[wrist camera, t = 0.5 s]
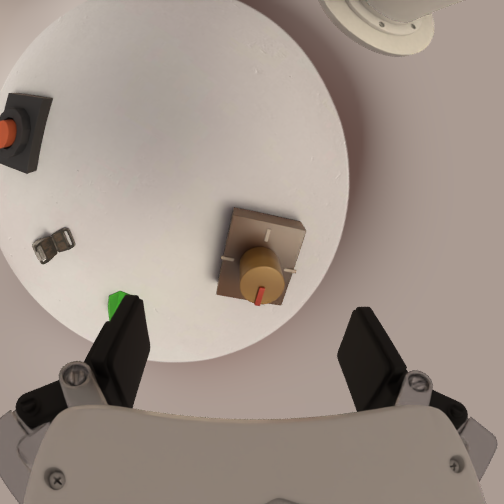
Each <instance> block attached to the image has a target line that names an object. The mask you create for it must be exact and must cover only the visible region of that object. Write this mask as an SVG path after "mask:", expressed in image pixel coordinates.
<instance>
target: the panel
mask: <svg viewBox="0 0 504 504" xmlns="http://www.w3.org/2000/svg"><path fill="white" fill-rule="evenodd" d="M305 233H306V229H305V228H304V226H303V225H302V223H301V222H300V221H296V220H291V219H287V218H282V217H278V216H273V215H269V214H264V213H260V212H255V211H250V210H246V209H241V208H236V207H234V208H233V213H232V217H231V222H230V227H229V231H228V236H227V241H226V245H225V250H224V255H223V256H221V259H223V260H222V264H221V269H220V274H219V279H218V286H217V295H222V296H227V297H233V298H239V299H244V300H247V299H245V298H244V296H243V295H242V294H241V291H240V260H241V257H242V256H243V254H244V253H245V252H246V251H248V250H250V249H252V248H255V247H265V248H268V249H270V250H272V251H273V252H274V253H275V254H276V255H277V257H278V259H279V263H280V267H281V270H282V274H283V278H284V282H285V286H284V290H283V292H282V294H281V295H280V297H278V298H277V299H276V300H275V301H273V302H271V303H269V304H275V305H281V304H282V302H283V299H284V296H285V293H286V290H287V287H288V284H289V282H290V279H291V276H292V273H296V270H294V267H295V264H296V261H297V258H298V255H299V252H300V249H301V246H302V243H303V240H304V236H305Z"/></svg>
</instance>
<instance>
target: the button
mask: <svg viewBox="0 0 504 504" xmlns="http://www.w3.org/2000/svg"><path fill="white" fill-rule="evenodd" d="M16 133H17V129H16V123H15V121H14V120H12V119H9V120H2V121H0V148H4V147H8V146H11V145H12V144H13V142H14V141H15V138H16Z"/></svg>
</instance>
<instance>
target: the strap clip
mask: <svg viewBox="0 0 504 504" xmlns="http://www.w3.org/2000/svg"><path fill="white" fill-rule="evenodd" d="M64 231H67V233H68V235H69V237H70V240H71V242H72V245H71V246H69V243H68V241H67V239H66V236H65V234H64ZM74 246H75V242H74V240H73V238H72V235H71V233H70V230H69V229H68V228H65V229H61V230H60V231H58V232H56V233H54V234H53V235H52V237H50V236H49V237H45V238H42V239H39V240H37V241H36V242H34V243H33V244H32V247H33V250H34V252H35V254H36V256H37V258H38V260H39V261H40V263H41V264H46V263H47V262H49V261H50V260H51V259H52V258H53V257H54V256H55V255H56V254H57V251H58V252H62V251H66V250H69V249H71V248H73V247H74ZM37 247H38V249H37ZM38 250H39V251H38ZM39 252H40V253H39ZM40 254H41V255H40ZM44 259H46V260H45V261H44V262H43V261H42V260H44Z"/></svg>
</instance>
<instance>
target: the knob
mask: <svg viewBox="0 0 504 504" xmlns="http://www.w3.org/2000/svg"><path fill="white" fill-rule="evenodd" d="M284 286H285V282H284V278H283V274H282V270H281V267H280V263H279V259H278V257H277V255H276V254H275V253H274V252H273V251H272V250H270V249H268V248H265V247H255V248H252V249H250V250H248V251H246V252H245V253H244V254H243V256H242V257H241V260H240V291H241V294H242V295H243V296H244V298H245V299H247V300H248V301H250V302H252V303H254V305H257V306H260V304H267V303H271V302H273V301H275V300H276V299H277V298H278V297H280V295H281V294H282V292H283V290H284Z"/></svg>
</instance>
